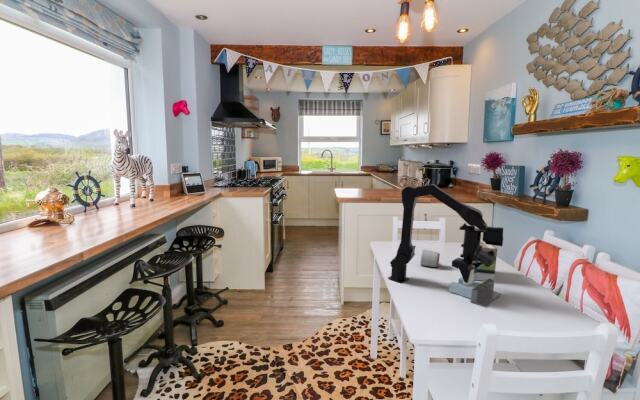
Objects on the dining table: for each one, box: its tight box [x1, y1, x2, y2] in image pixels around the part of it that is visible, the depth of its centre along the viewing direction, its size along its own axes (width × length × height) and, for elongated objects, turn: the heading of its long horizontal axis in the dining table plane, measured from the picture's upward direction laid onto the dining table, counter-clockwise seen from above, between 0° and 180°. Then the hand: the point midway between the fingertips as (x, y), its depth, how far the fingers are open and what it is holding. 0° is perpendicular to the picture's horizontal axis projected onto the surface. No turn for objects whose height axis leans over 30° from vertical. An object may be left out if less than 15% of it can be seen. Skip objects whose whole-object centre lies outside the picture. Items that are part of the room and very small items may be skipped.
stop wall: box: [470, 279, 503, 308], centre depth 127 cm, size 16×5×5 cm, turn 134°
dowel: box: [463, 265, 475, 287], centre depth 132 cm, size 3×3×10 cm
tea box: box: [473, 239, 498, 282], centre depth 151 cm, size 15×10×15 cm, turn 168°
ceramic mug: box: [420, 248, 441, 268], centre depth 163 cm, size 11×8×8 cm
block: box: [449, 276, 482, 299], centre depth 132 cm, size 10×10×3 cm
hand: (468, 281), depth 132 cm, fingers closed on dowel, 3 cm apart
